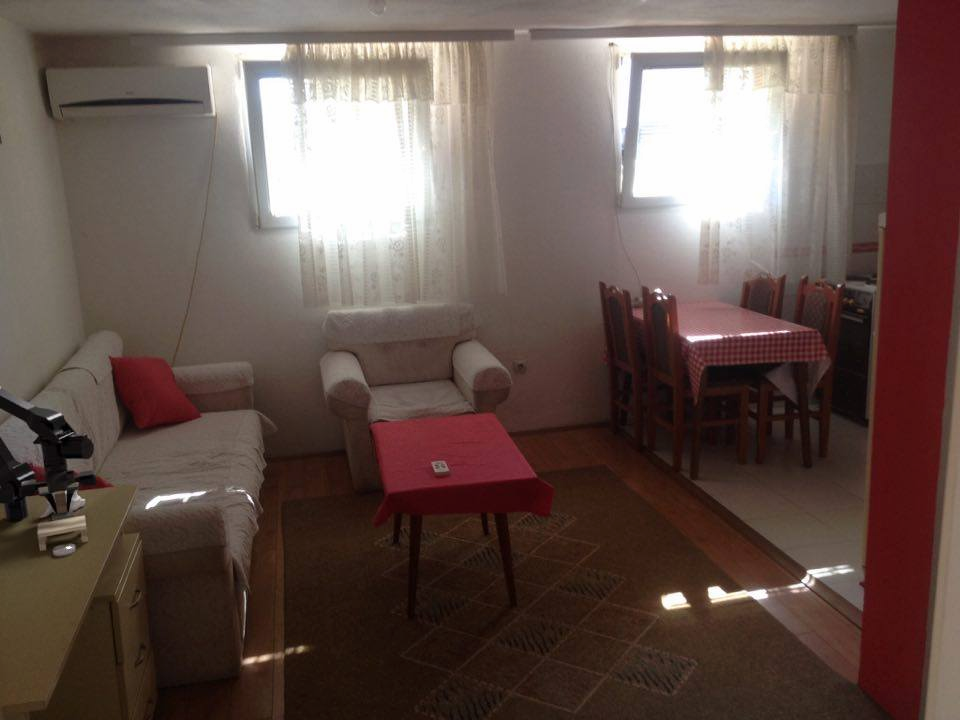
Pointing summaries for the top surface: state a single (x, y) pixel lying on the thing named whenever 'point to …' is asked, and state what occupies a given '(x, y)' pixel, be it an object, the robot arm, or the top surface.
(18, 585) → the top surface
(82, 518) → the footstool
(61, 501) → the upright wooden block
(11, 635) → the top surface
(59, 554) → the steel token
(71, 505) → the rabbit figurine
